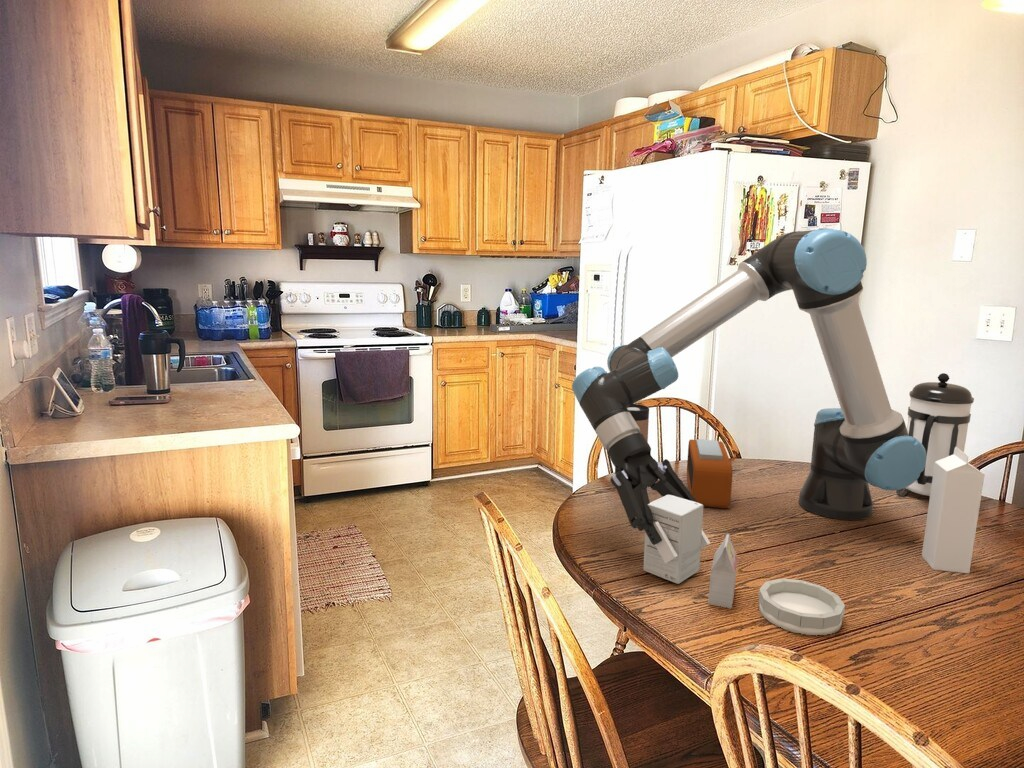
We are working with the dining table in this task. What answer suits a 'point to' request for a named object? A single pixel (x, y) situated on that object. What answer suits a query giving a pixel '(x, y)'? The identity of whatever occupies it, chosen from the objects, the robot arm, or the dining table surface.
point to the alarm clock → (709, 473)
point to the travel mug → (639, 419)
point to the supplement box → (676, 538)
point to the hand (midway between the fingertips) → (688, 553)
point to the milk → (952, 514)
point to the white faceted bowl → (801, 606)
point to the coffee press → (937, 424)
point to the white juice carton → (723, 575)
